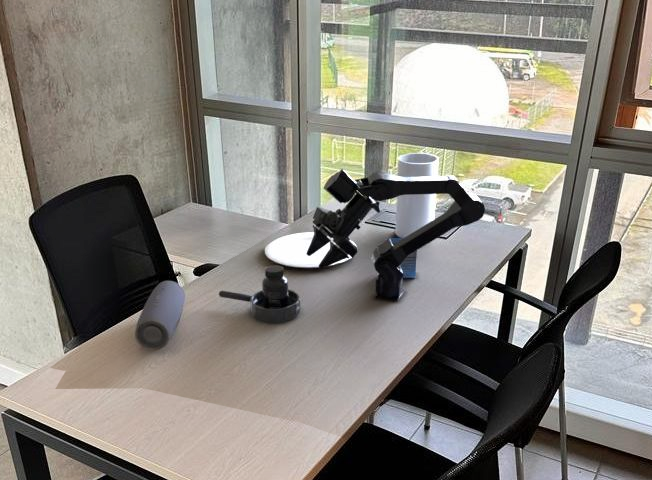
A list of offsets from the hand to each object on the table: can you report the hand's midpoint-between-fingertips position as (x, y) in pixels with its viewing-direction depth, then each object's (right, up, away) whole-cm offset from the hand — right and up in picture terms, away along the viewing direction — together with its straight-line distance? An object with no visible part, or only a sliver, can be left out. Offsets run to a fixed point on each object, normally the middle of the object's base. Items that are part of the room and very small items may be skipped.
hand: (313, 261), depth 189 cm
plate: (0, +8, +38) cm, 39 cm away
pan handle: (-21, -9, +6) cm, 24 cm away
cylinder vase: (+34, +17, +50) cm, 63 cm away
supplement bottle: (-10, -13, +3) cm, 17 cm away
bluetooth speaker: (-38, -19, -4) cm, 43 cm away
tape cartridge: (+26, -1, +22) cm, 34 cm away
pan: (-10, -13, +4) cm, 17 cm away
